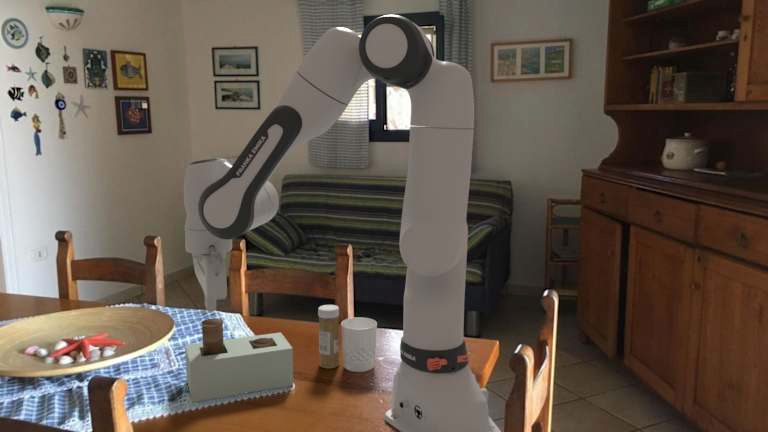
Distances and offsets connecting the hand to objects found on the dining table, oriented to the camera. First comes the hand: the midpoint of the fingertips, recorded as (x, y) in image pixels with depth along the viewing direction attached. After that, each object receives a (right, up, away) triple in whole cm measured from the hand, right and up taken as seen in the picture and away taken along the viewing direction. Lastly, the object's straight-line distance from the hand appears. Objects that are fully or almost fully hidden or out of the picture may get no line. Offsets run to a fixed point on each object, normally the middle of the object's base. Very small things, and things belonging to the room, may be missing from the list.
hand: (210, 309), depth 121 cm
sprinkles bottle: (+22, -15, +14) cm, 30 cm away
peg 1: (0, -10, +2) cm, 11 cm away
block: (+5, -16, +5) cm, 17 cm away
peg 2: (+9, -15, +6) cm, 19 cm away
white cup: (+29, -15, +14) cm, 35 cm away
